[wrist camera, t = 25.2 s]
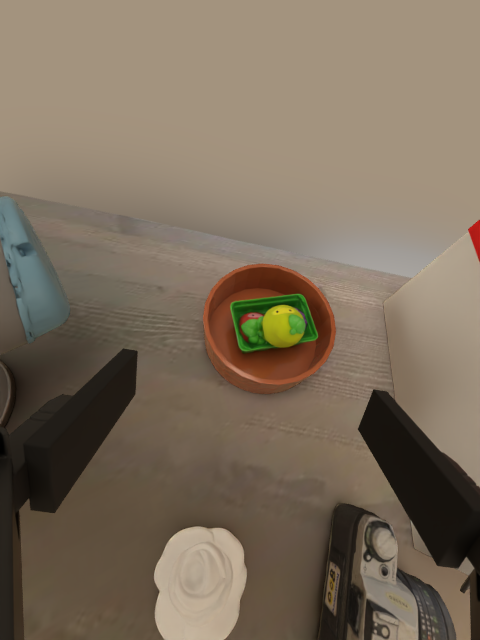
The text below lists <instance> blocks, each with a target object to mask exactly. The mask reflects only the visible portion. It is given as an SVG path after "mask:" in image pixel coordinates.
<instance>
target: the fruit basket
mask: <svg viewBox="0 0 480 640" xmlns="http://www.w3.org/2000/svg"><path fill="white" fill-rule="evenodd" d="M230 309H231V313H232V317H233V322H234V326H235V331H236V336H237V341H238V346H239V348H240V349H241V351H242V353H243V354H246V353H252V352H254V351H264V350H268V349H271V348H272V349H276V348H285V347H290V346H295V345H299V344H302V343H305V342H310V341H314V340H316V339H317V338H318V333H317V331H316V328H315V325H314V322H313V319H312V316H311V313H310V310H309V308H308V305H307V302H306V299H305V297H304V296H303V295H301V294H292V295H284V296H276V297H268V298H259V299H250V300H242V301H234V302H232V303H231V305H230Z"/></svg>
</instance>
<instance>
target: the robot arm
mask: <svg viewBox="0 0 480 640" xmlns="http://www.w3.org/2000/svg"><path fill="white" fill-rule="evenodd" d="M69 314H70V305H69V302H68V299H67V296H66V293H65V291H64V289H63V286H62V284H61V282H60V280H59V278H58V275H57V273H56V271H55V269H54V267H53V265H52V263H51V261H50V259H49V257H48V255H47V253H46V251H45V249H44V247H43V245H42V244H41V242H40V240H39V238H38V236H37V234H36V232H35V231H34V229H33V227H32V225H31V224H30V222H29V220H28V219H27V217H26V215H25V214H24V212H23V211H22V210H21V209H20V207H19V206H18V204H17V202H16V201H15V200H14V199H12V198H10V197H7V196H3V197H0V355H2V354H4V353H6V352H9V351H11V350H13V349H15V348H18V347H20V346H22V345H24V344H27V343H29V344H30V343H32V342H33V341H35V338H37V337H39V336H41V335H43V334H45V333H47V332H49V331H51V330H53V329H55V328H57V327H59V326H61V325H62V324H63V323H65V321H66V320H67V318H68V317H69ZM137 352H138V351H135V350H129V349H122V350H121V351H120V352H119V353H118V354H117V355H116V356H115V357H114V358H113V359H112V360H111V361H110V362H109V363H108V364H107V365H105V366H104V367H103V368H102V369H101V370H100V371H99V372H98V373H97V374H96V375H95V376H94V377H93V378H92V379H91V380H90V381H89V382H88V383H86V384H85V385H84V386H83V387H82V388H81V389H80V390H79V391H78V392H77V393H76V394H75V395H74V396H70V395H64V394H62V395H60V396H58V397H56V398H54V399H52V400H50V401H48V402H47V403H46V404H45V405H44V406H43V407H41V408H40V409H39V411H38V412H36V413H34V414H33V415H32V416H31V417H30V419H27V420H26V421H25V422H24V423H23V424H22V425H20V426H19V427H18V428H17V429H16V430H15V431H13V432H12V433H11V434H10V435H9V434H8V432H7V429H5V428H4V426H5V425H6V423H7V421H8V419H9V417H10V415H11V412H12V409H13V406H14V402H15V395H16V387H15V381H14V378H13V375H12V373H11V371H10V370H9V368H8V367H7V366H6V365H5V364H4V363H3V362H2V361H0V640H24V620H23V592H22V564H21V536H20V514H19V509H20V508H21V507H22V506H23V504H24V503H25V502H26V501H27V500H28V498H29V500H30V508H31V510H35V511H42V512H49V513H55V512H56V510H57V509H58V507H59V506H60V504H61V503H62V501H63V500H64V498H65V497H66V495H67V494H68V493H69V491H70V490H71V488H72V487H73V485H74V484H75V482H76V481H77V479H78V478H79V476H80V475H81V473H82V472H83V470H84V469H85V468H86V466H87V465H88V463H89V462H90V460H91V459H92V457H93V456H94V454H95V453H96V451H97V450H98V448H99V447H100V445H101V444H102V442H103V441H104V440H105V438H106V437H107V435H108V434H109V432H110V431H111V429H112V428H113V426H114V425H115V423H116V422H117V420H118V419H119V417H120V416H121V415H122V413H123V412H124V410H125V409H126V407H127V406H128V404H129V403H130V401H131V400H132V398H133V397H134V395H135V390H136V371H137ZM358 430H359V432H360V433H361V435H362V437H363V439H364V440H365V442H366V444H367V446H368V447H369V449H370V451H371V452H372V454H373V456H374V458H375V459H376V461H377V463H378V464H379V466H380V468H381V470H382V471H383V473H384V475H385V477H386V478H387V480H388V482H389V483H390V485H391V487H392V489H393V490H394V492H395V494H396V496H397V497H398V499H399V501H400V502H401V504H402V506H403V508H404V509H405V511H406V513H407V515H408V516H409V518H410V520H411V521H412V523H413V525H414V527H415V528H416V530H417V532H418V534H419V535H420V537H421V539H422V540H423V542H424V544H425V546H426V547H427V549H428V551H429V552H430V554H431V556H432V558H433V559H434V561H435V563H436V565H437V566H443V567H450V568H457V569H458V568H459V567H460V565H461V564H462V562H463V561H464V559H465V558H466V557H467V558H468V560H469V561H470V563H471V564H472V566H473V567H474V569H473V571H472V572H471V573H470V575H469V576H468V578H467V579H466V580H465V582H464V583H463V585H462V586H461V589H460V591H461V592H463V593H465V592H466V590H467V589H470V615H471V640H480V487H479V486H477V485H476V483H475V482H474V481H473V480H472V478H471V477H470V476H468V474H467V473H466V472H465V471H464V470H463V469H462V468H461V467H460V466H459V464H458V463H457V462H455V461H454V460H453V459H451V458H450V457H449V456H448V455H446V454H445V453H443V452H441V451H440V450H439V449H438V448H437V447H436V446H435V445H434V443H433V442H432V441H431V440H430V439H429V438H428V437H427V436H426V435H425V433H424V432H423V431H422V430H421V429H420V428H419V427H418V426H417V425H416V423H415V422H414V421H413V420H412V419H411V418H410V417H409V416H408V415H407V413H406V412H405V411H404V410H403V409H402V408H401V407H400V406H399V405H398V403H397V402H396V401H395V400H394V399H393V398H392V397H391V396H390V395H389V393H388V392H387V391H380V390H373V392H372V395H371V397H370V400H369V402H368V405H367V407H366V410H365V413H364V415H363V418H362V420H361V423H360V425H359V428H358Z"/></svg>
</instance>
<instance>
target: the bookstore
mask: <svg viewBox="0 0 480 640" xmlns="http://www.w3.org/2000/svg"><path fill="white" fill-rule="evenodd" d="M383 307H384V315H385V323H386V331H387V339H388V347H389V355H390V363H391V370H392V378H393V386H394V394H395V401H396V402H397V403H398V405H399V406H400V407H401V408H402V409H403V410H404V411H405V412H406V413H407V415H408V416H409V417H410V418H411V419H412V420H413V421H414V422H415V423H416V425H417V426H418V427H419V428H420V429H421V430H422V431H423V432H424V433H425V435H426V436H427V437H428V438H429V439H430V440H431V441H432V442H433V443H434V445H435V446H436V447H437V448H438V449H439V450H440V451H441V452H443V453H445V454H446V455H448V456H449V457H450V458H451V459H453V460H454V461H455V462H457V463H458V464H459V466H460V467H461V468H462V469H463V470H464V471H465V472H466V473H467V474H468V476H470V477H471V478H472V480H473V481H474V482H475V483H476V485H477V486H479V487H480V220H479V221H477V222H476V223H475V224H474V225H473V226H472V227H470V228H469V229H468V232H467V233H466V234H465V235H464V236H462V237H461V238H460V239H459V240H458V241H456V242H455V243H454V244H453V245H452V246H450V247H449V248H448V249H447V250H446V251H444V252H443V253H442V254H441V255H440V256H438V257H437V258H436V259H435V260H434V261H432V262H431V263H430V264H429V265H428V266H426V267H425V268H424V269H423V270H422V271H420V272H419V273H418V274H417V275H416V276H414V277H413V278H412V279H411V280H410V281H408V282H407V283H406V284H405V285H404V286H402V287H401V288H400V289H399V290H398V291H396V292H395V293H394V294H393V295H392V296H390V297H389V298H388V299H387V300H386V301H384V302H383ZM411 528H412V536H413V544H414V549H416V550H418V551H420V552H422V553H424V554H426V555H428V556H430V557H432V556H431V554H430V552H429V551H428V549H427V547H426V546H425V544H424V542H423V540H422V539H421V537H420V535H419V534H418V532H417V530H416V528H415V527H414V525H413V523H412V521H411ZM455 569H457V568H455ZM473 569H474V567H473V566H472V564H471V563H470V561H469V560H468V558H467V557H466V558H465V559H464V561H463V562H462V564H461V565H460V567H459V568H458V569H457V570H459V571H461V572H463V573H465V574H467V575H470V573H471V572H472V571H473Z"/></svg>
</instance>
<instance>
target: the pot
mask: <svg viewBox="0 0 480 640" xmlns="http://www.w3.org/2000/svg"><path fill="white" fill-rule="evenodd" d="M292 294H301V295H303V296H304V297H305V299H306V302H307V305H308V308H309V310H310V313H311V316H312V319H313V322H314V325H315V328H316V331H317V333H318V338H317V339H316V340H314V341H310V342H305V343H302V344H299V345H295V346H290V347H285V348H276V349H272V348H271V349H268V350H264V351H254V352H252V353H246V354H243V353H242V351H241V349H240V348H239V346H238V341H237V336H236V331H235V326H234V322H233V317H232V313H231V309H230V305H231V303H232V302H234V301H242V300H250V299H259V298H268V297H276V296H284V295H292ZM203 326H204V340H205V346H206V351H207V353H208V356H209V359H210V360H211V362H212V364H213V366H214V367H215V368H216V370H217V371H218V372H219V373H220V374H221V375H222V377H223V378H225V379H226V380H227V381H228V382H230V383H231V384H233V385H235V386H236V387H238V388H241V389H243V390H245V391H249V392H252V393H259V394H273V393H279V392H283V391H286V390H288V389H290V388H292V387H294V386H296V385H298V384H300V383H301V382H302V381H304V380H305V379H307V378H308V377H309V376H311V375H312V374H314V373H315V372H316V371H317V370H318V369H319V368H320V367H321V366H322V365H323V364H324V363H325V362H326V360H327V358H328V356H329V354H330V352H331V350H332V349H333V346H334V340H335V334H336V329H335V320H334V315H333V313H332V310H331V308H330V305H329V303H328V301H327V299H326V298H325V297H324V295H323V294H322V292H321V291H320V290H319V288H318V287H316V286H315V285H314V284H313V283H312V282H311V281H310V280H309V279H307V278H306V277H304V276H302V275H301V274H299V273H297V272H295V271H293V270H291V269H288V268H285V267H282V266H278V265H270V264H255V265H247V266H244V267H241V268H238V269H236V270H233V271H232V272H230V273H229V274H227V275H226V276H224V277H223V278H221V279H220V280H219V282H218V283H217V284H216V285H215V286H214V287H213V288H212V290H211V292H210V294H209V296H208V298H207V300H206V303H205V309H204V316H203Z"/></svg>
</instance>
